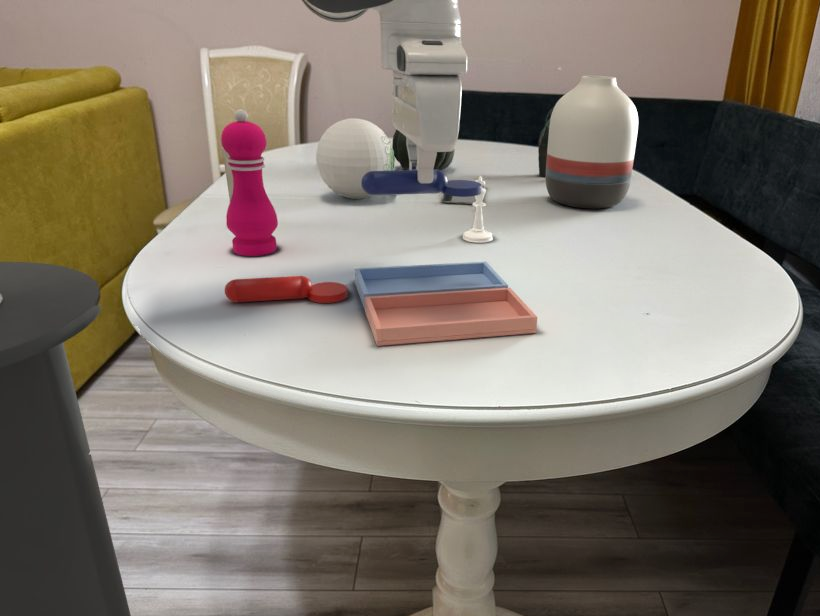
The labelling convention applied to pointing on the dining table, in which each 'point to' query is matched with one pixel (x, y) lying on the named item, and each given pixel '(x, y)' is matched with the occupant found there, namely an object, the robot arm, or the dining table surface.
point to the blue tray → (426, 279)
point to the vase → (591, 145)
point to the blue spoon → (416, 184)
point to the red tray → (448, 316)
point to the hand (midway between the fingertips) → (421, 178)
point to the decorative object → (352, 155)
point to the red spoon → (284, 289)
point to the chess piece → (478, 221)
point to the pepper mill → (248, 189)
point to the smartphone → (459, 199)
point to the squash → (402, 156)
